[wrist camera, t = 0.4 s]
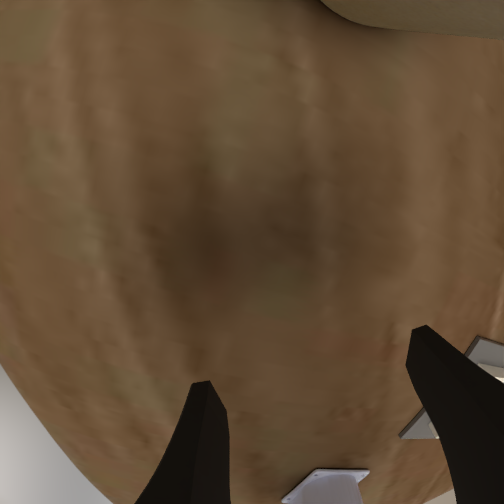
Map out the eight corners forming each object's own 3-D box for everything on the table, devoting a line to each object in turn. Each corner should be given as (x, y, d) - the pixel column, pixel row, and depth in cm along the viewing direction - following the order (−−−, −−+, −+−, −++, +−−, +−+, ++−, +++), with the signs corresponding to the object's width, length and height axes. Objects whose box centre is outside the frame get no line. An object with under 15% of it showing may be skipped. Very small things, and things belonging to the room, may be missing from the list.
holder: (466, 433, 31) (474, 446, 28) (398, 435, 28) (406, 453, 26) (529, 352, 26) (541, 365, 23) (477, 335, 24) (492, 352, 21)
